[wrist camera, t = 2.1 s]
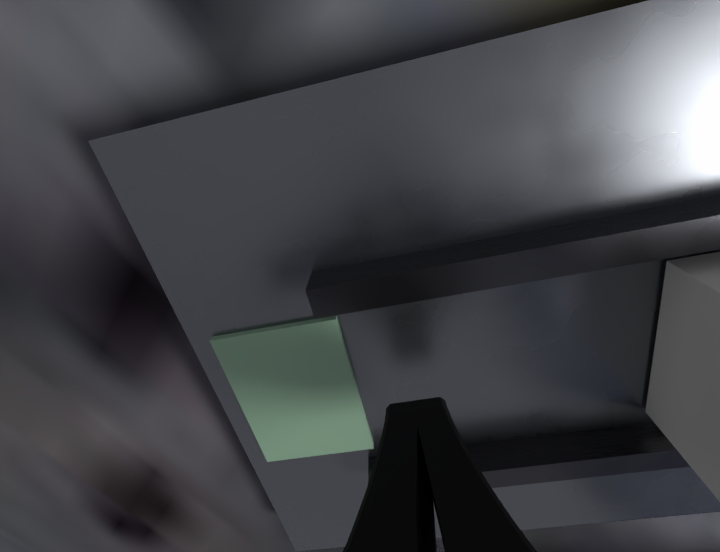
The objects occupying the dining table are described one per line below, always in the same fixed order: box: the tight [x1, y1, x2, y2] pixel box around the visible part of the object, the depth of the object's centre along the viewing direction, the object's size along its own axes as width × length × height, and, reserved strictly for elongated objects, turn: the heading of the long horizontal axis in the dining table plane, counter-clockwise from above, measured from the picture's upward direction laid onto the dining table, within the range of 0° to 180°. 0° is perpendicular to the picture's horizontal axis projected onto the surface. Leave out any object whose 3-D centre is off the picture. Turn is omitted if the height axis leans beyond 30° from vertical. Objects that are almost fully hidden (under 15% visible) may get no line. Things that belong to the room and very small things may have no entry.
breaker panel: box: [88, 0, 720, 551], centre depth 10 cm, size 16×28×2 cm, turn 103°
